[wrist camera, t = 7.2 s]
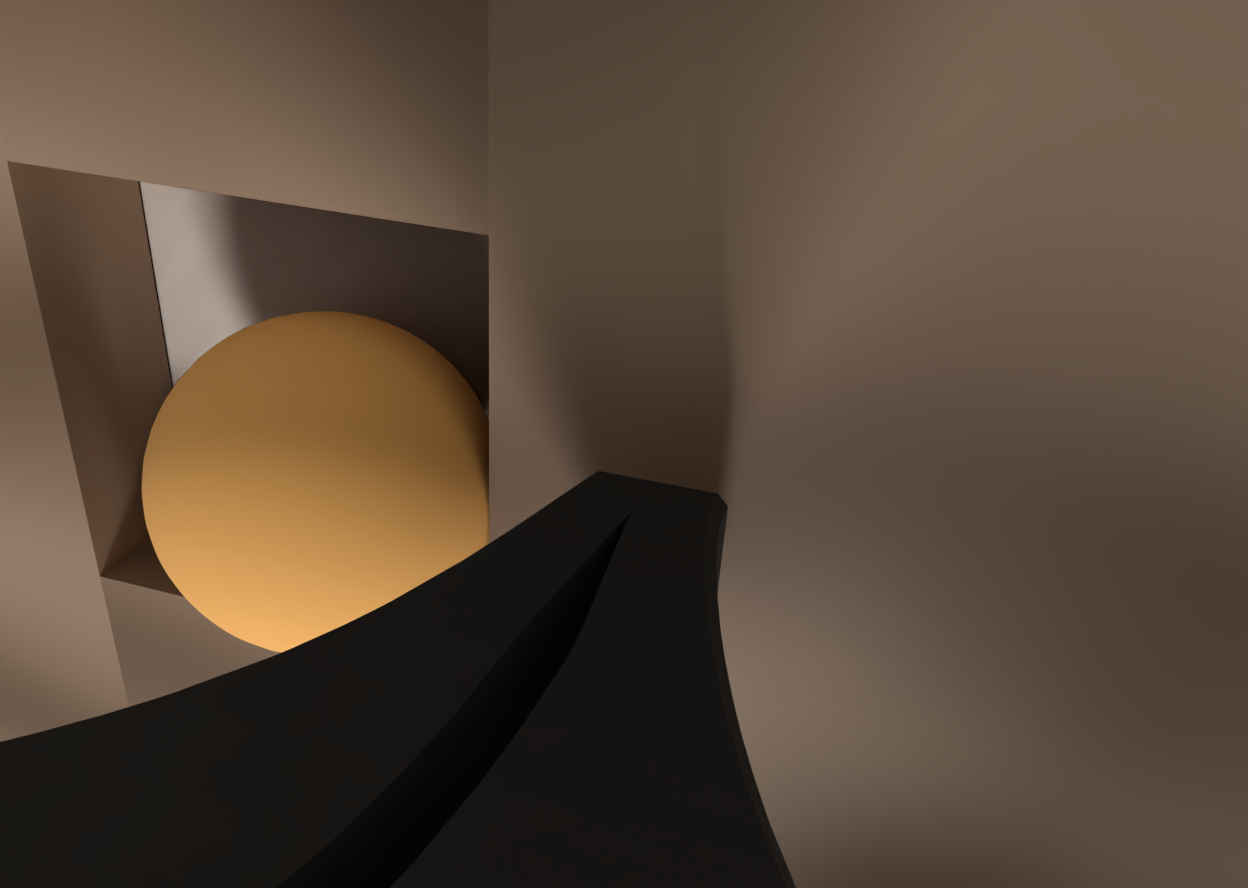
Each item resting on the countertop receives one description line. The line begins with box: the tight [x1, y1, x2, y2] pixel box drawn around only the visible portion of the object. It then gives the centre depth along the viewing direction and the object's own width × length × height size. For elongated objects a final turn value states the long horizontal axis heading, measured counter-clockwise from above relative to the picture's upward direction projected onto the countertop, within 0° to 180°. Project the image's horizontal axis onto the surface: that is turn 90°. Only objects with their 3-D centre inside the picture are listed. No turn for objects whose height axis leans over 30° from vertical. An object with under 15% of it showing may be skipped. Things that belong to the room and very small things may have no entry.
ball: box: [142, 311, 489, 653], centre depth 13 cm, size 4×4×4 cm
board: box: [0, 0, 1248, 888], centre depth 12 cm, size 14×26×2 cm, turn 86°
